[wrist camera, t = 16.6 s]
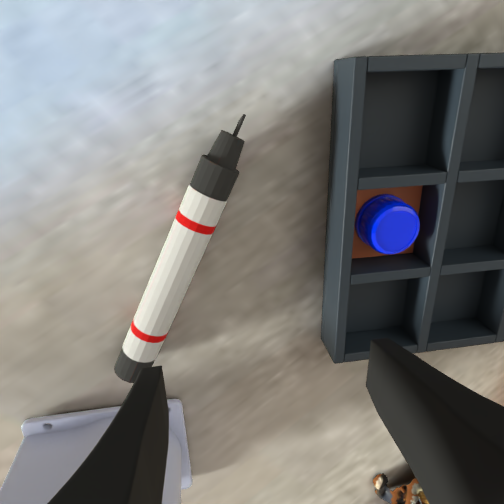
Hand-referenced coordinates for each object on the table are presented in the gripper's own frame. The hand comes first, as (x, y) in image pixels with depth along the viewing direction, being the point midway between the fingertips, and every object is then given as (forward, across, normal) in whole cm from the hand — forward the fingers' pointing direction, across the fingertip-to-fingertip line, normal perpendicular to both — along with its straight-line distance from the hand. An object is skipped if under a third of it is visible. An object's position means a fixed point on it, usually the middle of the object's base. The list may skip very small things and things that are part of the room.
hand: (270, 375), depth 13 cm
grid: (+9, -13, -2) cm, 16 cm away
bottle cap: (+9, -8, -2) cm, 12 cm away
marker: (+10, +3, -1) cm, 10 cm away
